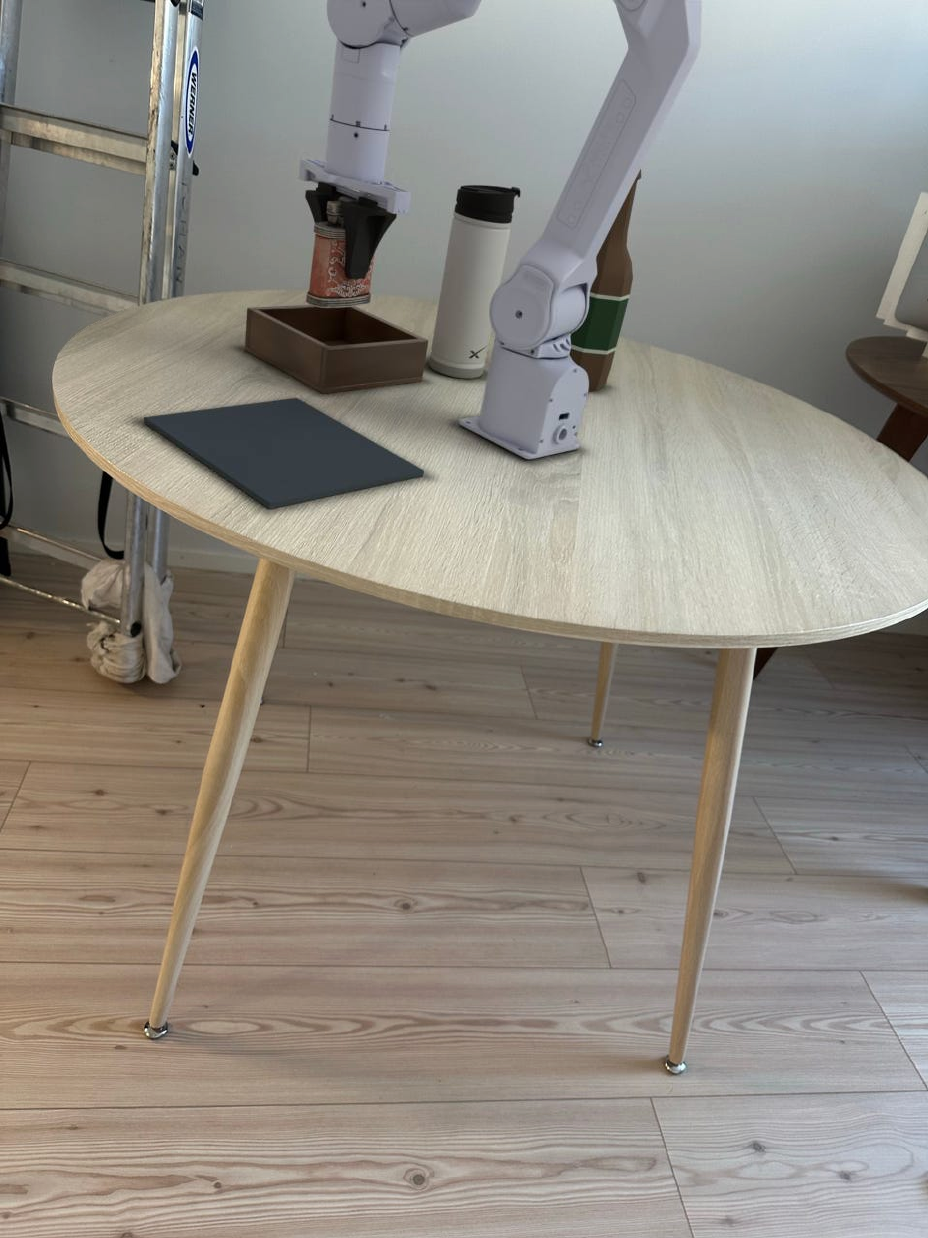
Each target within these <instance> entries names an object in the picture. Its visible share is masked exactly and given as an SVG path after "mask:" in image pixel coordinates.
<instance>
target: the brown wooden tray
mask: <svg viewBox="0 0 928 1238" xmlns="http://www.w3.org/2000/svg"><path fill="white" fill-rule="evenodd" d="M246 309H247V310H246V321H245V322H246V323H245V334H244V335H245V337H244V346H243V347H244V349H243V350H244V351H245V352H247V353H249V354H251V355H252V356H254V357H256V358H258V359H261V361H264V362H265V363H267V364H268V365H271V366H273V367H274V368H276V369H278V370H280V371H281V372H284V373H285V374H287V375H289V376H291V377H292V378H294V379H296V380H298V381H300V382H302V383H303V384H305V385H306V386H309V387H311V388H312V389H314V390H316V391H317V392H320V393H321V394H323V395H324V394H332V393H339V392H347V391H355V390H363V389H371V388H379V387H386V386H396V385H403V384H412V383H419V382H423V379H424V372H425V371H424V370H425V365H426V360H427V359H426V358H427V353H428V348H429V340H428V339H426V338H424V337H422V336H420V335H418V334H416V333H414V332H412V331H409V330H408V329H405V328H403V327H402V326H401V327H400V326H398V325H396V324H394V323H392V322H390V321H388V320H385V319H384V318H381V317H379V316H377V315H375V314H373V313H370V312H369V311H367V310H364V309H363V308H359V307H358V306H352V307H340V308H321V307H316V306H313V305H310V304H297V305H296V304H295V305H294V304H293V305H277V306H275V305H274V306H255V307H247V308H246Z"/></svg>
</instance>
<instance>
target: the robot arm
mask: <svg viewBox="0 0 928 1238" xmlns="http://www.w3.org/2000/svg"><path fill="white" fill-rule="evenodd" d="M612 1H613V3H614V4H615V6H616V10H617V13H618V17H619V20H620V23H621V26H622V29H623V33H624V36H625V39H626V43H627V52H626V54H625V55H624V58H623V60H622V62H621V65H620V67H619V69H618V71H617V73H616V75H615V77H614V79H613V81H612V84H611V86H610V88H609V90H608V93H607V94H606V97H605V99H604V100H603V102H602V105H601V108H600V110H599V112H598V114H597V116H596V118H595V120H594V123H593V125H592V127H591V129H590V131H589V133H588V136H587V138H586V140H585V142H584V144H583V146H582V148H581V150H580V153H579V155H578V157H577V159H576V161H575V163H574V165H573V167H572V170H571V172H570V174H569V176H568V178H567V180H566V182H565V185H564V187H563V189H562V191H561V192H560V196H559V197H558V200H557V202H556V204H555V206H554V208H553V211H552V213H551V215H550V218H549V219H548V222H547V224H546V225H545V228H544V230H543V232H542V234H541V235H540V236H539V238H537V239H536V241H535V242H534V243H533V245H532V246H530V247H529V248H528V250H527V251H526V252H525V253H524V254H523V255H522V257H521V258H520V260H519V261H518V264H517V266H516V268H515V269H514V272H513V273H512V274H511V275H510V276H509V277H508V278H507V279H506V280H504V281H503V282H502V283H500V286H499V287H498V288H497V289H496V291H495V292H494V294H493V296H492V298H491V302H490V308H489V317H490V322H491V326H492V328H491V329H492V330H493V332H494V334H495V335H494V341H493V346H492V351H491V356H490V360H489V361H490V362H489V367H488V372H487V377H486V382H485V387H484V392H483V398H482V404H481V408H480V412H479V415H478V416H477V415H476V416H472V417H465V418H460V419H459V422H458V423H459V425H460V426H462V427H464V428H465V429H467V430H470V431H471V432H473V433H475V434H477V435H479V436H481V437H483V438H485V439H487V440H488V441H491V442H493V443H494V444H496V445H498V446H500V447H502V448H504V449H506V450H508V451H509V452H511V453H514V454H515V455H518V456H519V457H521V458H523V459H526V460H534V459H538V458H542V457H543V458H544V457H548V456H551V455H556V454H557V455H558V454H561V453H566V452H570V451H574V450H578V449H579V448H580V443H578V442H577V438H578V435H579V430H580V428H581V427H580V426H581V424H582V423H581V422H582V419H583V415H584V411H585V407H586V402H587V399H588V395H589V394H588V393H589V391H588V390H589V379H588V375H587V373H586V371H585V370H584V369H583V368H581V367H580V366H578V365H577V364H575V363H574V361H573V360H572V359H571V357H570V355H569V354H570V350H571V340H570V336H571V333H573V332H574V331H576V330H577V329H578V328H579V327H580V326H581V325H582V324H583V322H584V320H585V318H586V316H587V313H588V309H589V294H590V289H591V286H592V284H593V281H594V280H595V278H596V276H597V264H596V256H597V254H598V252H599V250H600V248H601V246H602V244H603V242H604V240H605V238H606V236H607V234H608V232H609V230H610V228H611V226H612V225H613V223H614V221H615V219H616V217H617V215H618V213H619V211H620V209H621V207H622V205H623V203H624V201H625V199H626V197H627V195H628V193H629V191H630V189H631V187H632V185H633V183H634V181H635V179H636V177H637V175H638V173H639V171H640V169H641V170H642V167H643V165H644V163H645V161H646V159H647V157H648V155H649V153H650V151H651V149H652V148H653V145H654V143H655V141H656V139H657V137H658V135H659V133H660V131H661V129H662V127H663V126H664V124H665V121H666V120H667V117H668V116H669V114H670V112H671V110H672V108H673V105H674V104H675V102H676V100H677V98H678V96H679V94H680V92H681V90H682V89H683V86H684V84H685V82H686V81H687V78H688V75H689V74H690V72H691V70H692V69H693V66H694V64H695V62H696V60H697V58H698V55H699V52H700V49H701V43H702V3H703V0H612ZM481 2H482V0H327V1H326V16H327V20H328V21H327V22H328V24H329V27H330V29H331V32H332V33H333V34H334V36H335V37H336V44H335V52H334V53H335V54H334V55H335V56H334V64H333V73H332V75H333V76H332V84H331V96H330V104H329V105H330V106H329V114H328V115H329V117H328V118H329V119H328V127H327V136H326V137H327V138H326V147H325V158H324V161H321V160H318V159H316V158H315V159H313V158H302V157H301V158H300V159H299V169H298V179H299V180H301V181H304V182H311V183H314V184H316V185H317V187H315V189H306V190H305V195H304V198H305V200H306V203H307V205H308V207H309V209H310V212H311V215H312V218H313V221H314V224H315V223H317V222H328V217H327V215H328V213H327V204H328V201H338V199H339V198H340V197H341V196H345V197H347V198H350V199H353V200H355V199H358V202H344V201H341V205H340V206H341V210H342V214H343V218H344V225H345V234H346V250H345V276H346V278H348V279H365V277H366V274H367V272H368V269H369V266H370V264H371V261H372V258H373V256H374V253H375V254H376V251H377V249H378V247H379V245H380V243H381V241H382V239H383V238H384V236H385V234H386V232H387V231H388V229H389V228H390V227H391V225H392V224H393V223H394V222H395V220H396V219H397V216H398V215H409V213H410V212H409V211H410V204H411V197H412V192H411V191H408V190H405V189H403V188H401V187H399V186H397V185H395V184H393V183H392V182H390V181H388V180H387V179H385V172H386V171H385V170H386V163H387V162H386V161H387V154H388V146H389V140H390V139H389V138H390V131H391V130H390V129H391V124H392V123H391V122H392V114H393V109H394V108H393V106H394V98H395V91H396V82H397V77H398V76H397V74H398V69H399V68H400V64H401V58H402V54H403V51H404V50H405V48H406V47H407V46H408V45H409V44H410V42H411V40H412V39H413V38H415V37H418V36H421V35H425V34H426V33H429V32H432V31H436V30H437V29H442V28H443V27H447V26H449V25H453V24H455V23H458V22H461V21H463V20H467V19H469V18H472V17H473V16H474V15H475V14H476V12H477V11H478V10H479V7H480V4H481Z"/></svg>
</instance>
